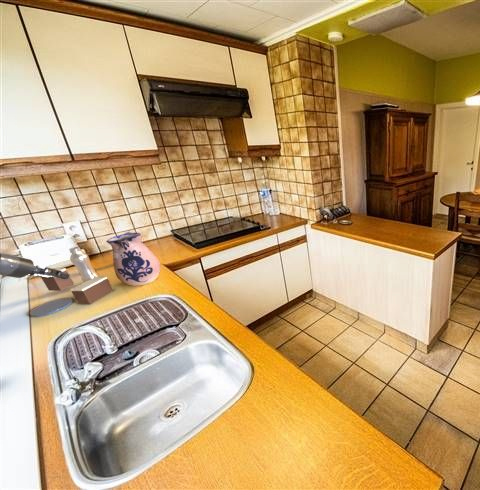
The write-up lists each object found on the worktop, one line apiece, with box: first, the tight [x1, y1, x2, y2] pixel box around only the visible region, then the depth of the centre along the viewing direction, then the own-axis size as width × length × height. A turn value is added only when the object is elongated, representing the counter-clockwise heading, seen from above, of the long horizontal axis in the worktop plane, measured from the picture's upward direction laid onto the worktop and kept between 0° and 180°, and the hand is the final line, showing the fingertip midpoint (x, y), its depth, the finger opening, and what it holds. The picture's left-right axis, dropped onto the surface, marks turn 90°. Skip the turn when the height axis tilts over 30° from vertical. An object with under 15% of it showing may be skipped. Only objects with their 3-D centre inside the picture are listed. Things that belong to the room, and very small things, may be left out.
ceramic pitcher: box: [106, 231, 162, 287], centre depth 134 cm, size 18×21×25 cm
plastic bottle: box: [68, 246, 101, 283], centre depth 135 cm, size 6×7×20 cm
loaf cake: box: [69, 276, 114, 305], centre depth 124 cm, size 11×6×8 cm, turn 175°
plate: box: [29, 297, 74, 318], centre depth 119 cm, size 13×13×1 cm
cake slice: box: [39, 267, 75, 292], centre depth 112 cm, size 5×6×8 cm
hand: (61, 276), depth 113 cm, fingers closed on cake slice, 6 cm apart
